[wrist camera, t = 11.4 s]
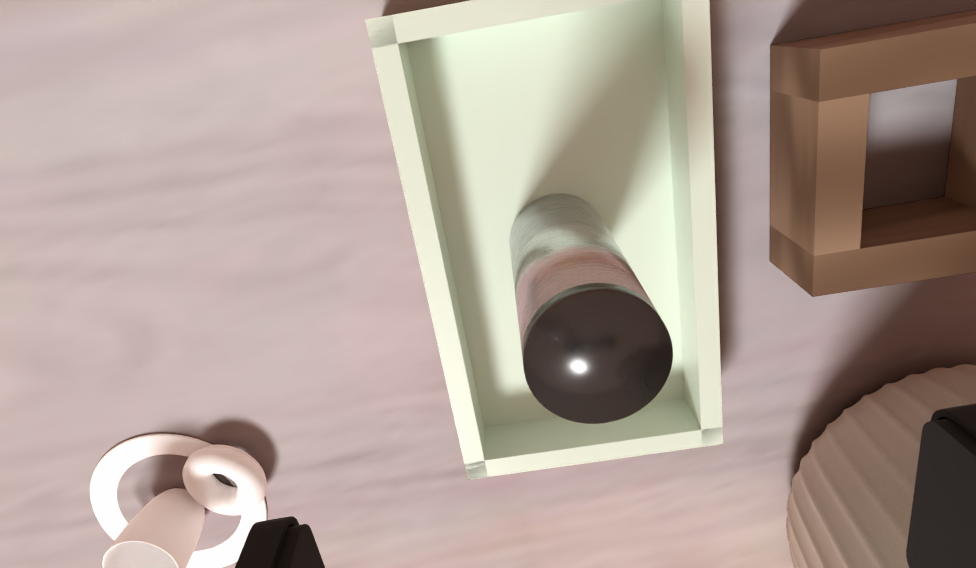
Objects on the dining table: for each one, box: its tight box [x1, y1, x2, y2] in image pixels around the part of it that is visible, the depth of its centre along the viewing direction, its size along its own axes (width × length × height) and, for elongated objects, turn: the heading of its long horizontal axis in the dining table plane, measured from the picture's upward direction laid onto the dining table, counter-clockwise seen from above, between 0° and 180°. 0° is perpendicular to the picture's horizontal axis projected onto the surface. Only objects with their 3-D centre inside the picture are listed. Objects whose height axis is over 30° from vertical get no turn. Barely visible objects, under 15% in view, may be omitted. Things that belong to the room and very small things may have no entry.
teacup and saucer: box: [90, 434, 267, 568], centre depth 28 cm, size 9×8×4 cm
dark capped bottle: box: [509, 193, 673, 424], centre depth 19 cm, size 4×4×9 cm
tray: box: [365, 0, 723, 480], centre depth 23 cm, size 17×10×3 cm, turn 9°
